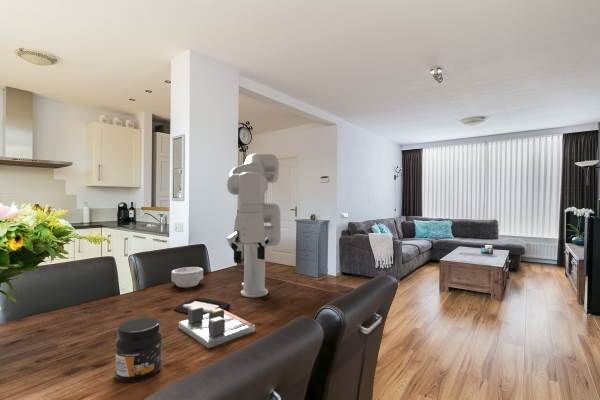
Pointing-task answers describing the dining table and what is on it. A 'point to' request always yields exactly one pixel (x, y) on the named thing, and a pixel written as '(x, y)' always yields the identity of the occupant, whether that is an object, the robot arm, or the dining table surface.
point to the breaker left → (195, 314)
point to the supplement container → (138, 349)
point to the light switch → (202, 305)
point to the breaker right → (216, 326)
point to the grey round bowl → (187, 276)
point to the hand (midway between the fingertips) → (249, 261)
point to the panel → (232, 330)
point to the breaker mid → (216, 313)
